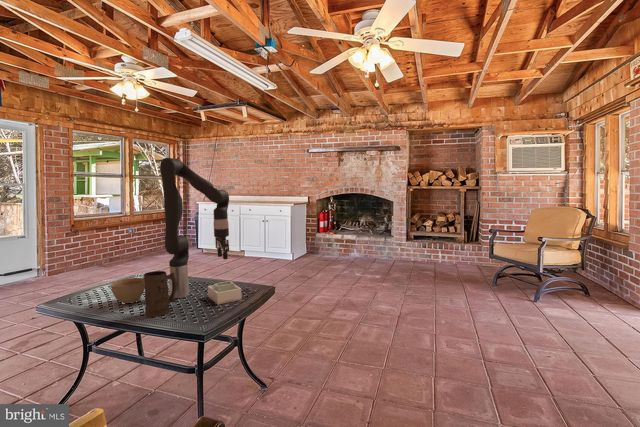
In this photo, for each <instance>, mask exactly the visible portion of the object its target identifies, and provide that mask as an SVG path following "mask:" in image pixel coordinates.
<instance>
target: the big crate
mask: <svg viewBox="0 0 640 427" xmlns="http://www.w3.org/2000/svg"><path fill="white" fill-rule="evenodd" d="M234 288H235V289H234V290H229V291H224V292H219V293H218V292H217V291H216V290H214V284H213V285H212V284H211V285H208V286H207V297H208V299H210V300H211V301H213V302H214V303H215V304H217V305H218V306H219V305H223V304H228V303H234V302H236V301H237V302H238V301H241V300H242V299H243V297H242V288H241V287H240V286H238V285H237V284H235V283H234Z"/></svg>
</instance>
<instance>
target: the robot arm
mask: <svg viewBox="0 0 640 427" xmlns="http://www.w3.org/2000/svg"><path fill="white" fill-rule="evenodd" d="M159 168H160V169H159V170H160V176H161V182H162V183H161V184H162V190H163V192H162V193H163V205H164V206H163V208H164V209H163V210H164V225H165V228H164V232H165V233H164V248H165V251H166V252H167V254H170V255H173V256H172V258H171V259H170V260H169V261H168V262H169V274H170V273H174V275H175V279H176V281H177V289H176V293H175V296H174V297H175V299H180V298H181V299H182V298H186V297H188V296H190V286H189V285H190V284H189V283H190V280H189V267H188V261H189V257H190V256H189V254H190V251H189V250H190V247H189V241H188V239H187V237H186V236H184V235H180V234H179V233H178V230H179V225H180V222H181V219H182V217H183V212H184V204H183V198H182V195H181V193H180V191H179V190H178V187H177V185H176V184H177V183H176V176H177V177H180V178H182V179H184V180H186V181H187V182H188V183H189V184H190V185H191V187H193V189H195V190H196V191H198V192H199V193H201V194H203V195H204V197H206V198H207V199H208V200H209V201H210V202H212V203H213V204H216V207H215V208H214V209H213V237H215V240H214V241H215V249H216V250H217V257H218V258H221V257H222V259H223V260H228V258H229V257H228V256H229V255H228V252H229V251H230V244H229V239H227V237H229V235H230V229H229V225H230V224H229V219H228V217H229V216H228V208H229V203H230V194H229V192H228V191H227V190H226V189H219V188H218V189H217V188H215V187H214V184H213V183H212V182H210V181H209V180H207V179H206V178H204V177H202V176H200V175H199V174H197V173H196V172H195V171H194V170H192V168H189V167H188V165H186V164H185V163H184V162H183V161H182V160H180V158H179V159H178V158H175V157H172V158H171V157H165V158H163V159H162V160H160V164H159ZM169 292H170V296H171V293H172V280H171V279H169ZM170 296H169V297H170Z"/></svg>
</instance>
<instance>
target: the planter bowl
mask: <svg viewBox="0 0 640 427" xmlns="http://www.w3.org/2000/svg"><path fill="white" fill-rule="evenodd" d="M110 288H111V291H112V295H113V296H114V297H115V299H116V300H117V301H118V302H119V301H120V302H123V303H131V302H136V301H138V302H140V301H139V300H141V297H142V296H143V294H144V293H145V281H144V277H131V278H130V277H129V278H124V279H119V280H116V281H113V282H112V283H111V284H110ZM120 302H119V303H120ZM136 303H137V302H136Z"/></svg>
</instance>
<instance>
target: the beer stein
mask: <svg viewBox="0 0 640 427" xmlns="http://www.w3.org/2000/svg"><path fill="white" fill-rule="evenodd" d="M143 278H144V281H145V289H144V300H145V303H144V305H145V308H144V310H145V311H144V312H145V314H144V315H145V316H146V317H148V316H149V318H157V317H156V316H158V317H162V316H165V315H167V314H169V313H170V312H171V310H170V307H169V306H170V303H176V301H177V300H176V299H177V298H175V297H174V296H175V293H176V289H177V281H176V279H175V275H174V273H170V272H169V274H167V272H166V271H164V270H156V271H149V272H146V273H144V274H143ZM170 279H171V280H172V293H171V296H169V286H168V285H169V284H168V281H169V280H170Z"/></svg>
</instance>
